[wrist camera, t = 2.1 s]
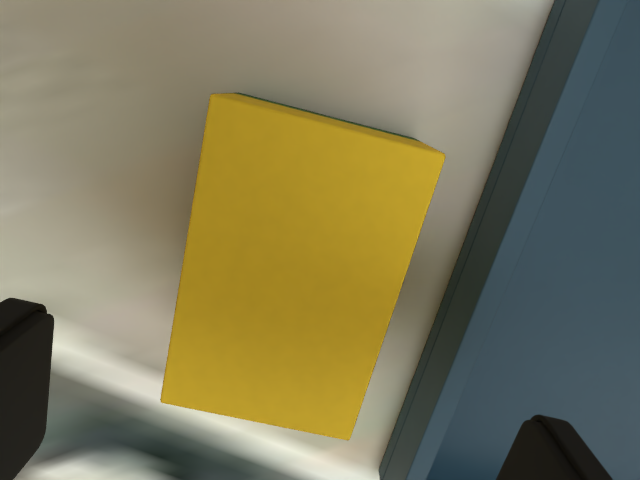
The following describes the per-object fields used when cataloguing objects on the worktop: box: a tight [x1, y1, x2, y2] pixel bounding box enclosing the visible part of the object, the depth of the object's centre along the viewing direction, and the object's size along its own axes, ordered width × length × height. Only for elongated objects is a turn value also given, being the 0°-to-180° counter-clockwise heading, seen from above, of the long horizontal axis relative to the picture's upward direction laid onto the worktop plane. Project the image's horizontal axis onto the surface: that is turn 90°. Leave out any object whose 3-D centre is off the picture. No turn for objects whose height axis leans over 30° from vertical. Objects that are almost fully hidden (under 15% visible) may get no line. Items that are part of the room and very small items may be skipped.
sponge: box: [160, 93, 445, 440], centre depth 15 cm, size 10×6×4 cm, turn 166°
